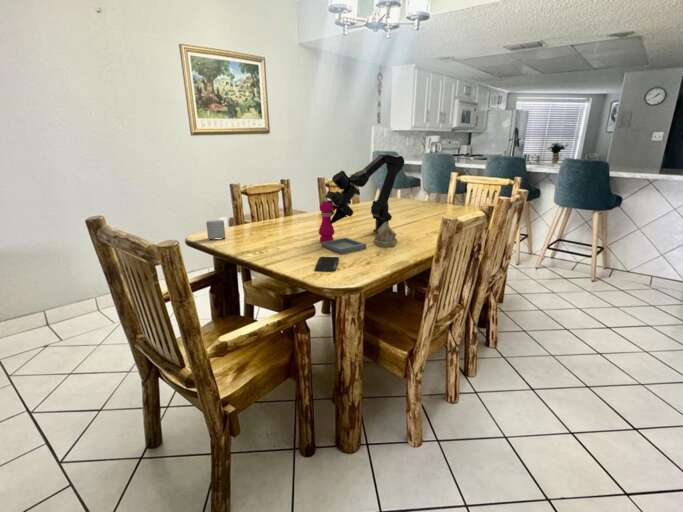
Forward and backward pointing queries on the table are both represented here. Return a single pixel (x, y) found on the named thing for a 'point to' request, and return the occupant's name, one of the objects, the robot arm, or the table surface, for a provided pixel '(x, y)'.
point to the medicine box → (215, 229)
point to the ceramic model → (385, 236)
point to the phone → (327, 264)
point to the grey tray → (343, 245)
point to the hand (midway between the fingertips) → (326, 221)
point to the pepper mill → (326, 221)
